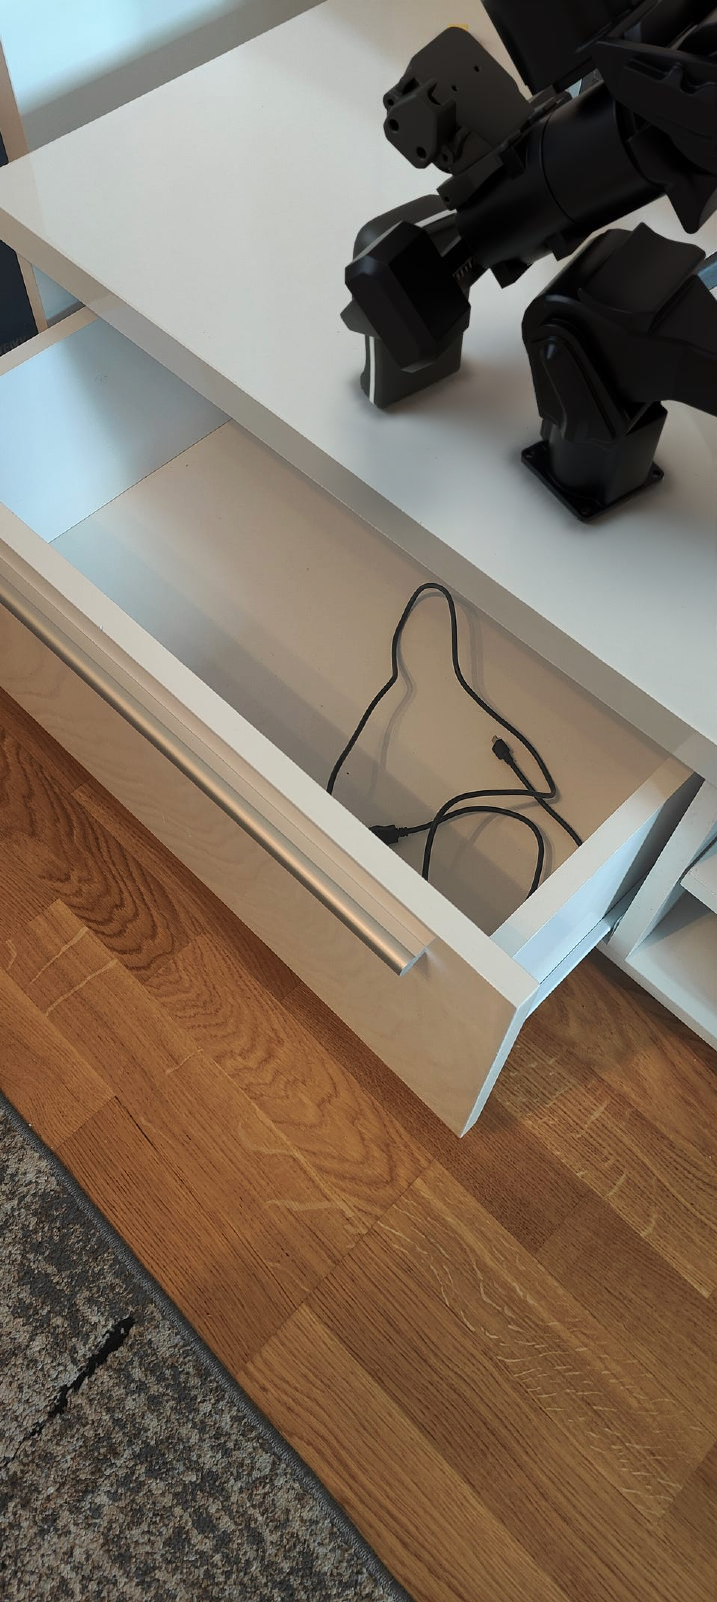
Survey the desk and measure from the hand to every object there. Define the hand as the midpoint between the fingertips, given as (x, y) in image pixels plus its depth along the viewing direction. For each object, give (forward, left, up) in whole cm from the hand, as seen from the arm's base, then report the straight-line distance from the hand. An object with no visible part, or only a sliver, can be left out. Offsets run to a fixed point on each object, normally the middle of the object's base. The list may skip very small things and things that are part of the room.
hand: (390, 278), depth 68 cm
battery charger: (-1, -1, -7) cm, 7 cm away
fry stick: (+25, -24, -7) cm, 35 cm away
